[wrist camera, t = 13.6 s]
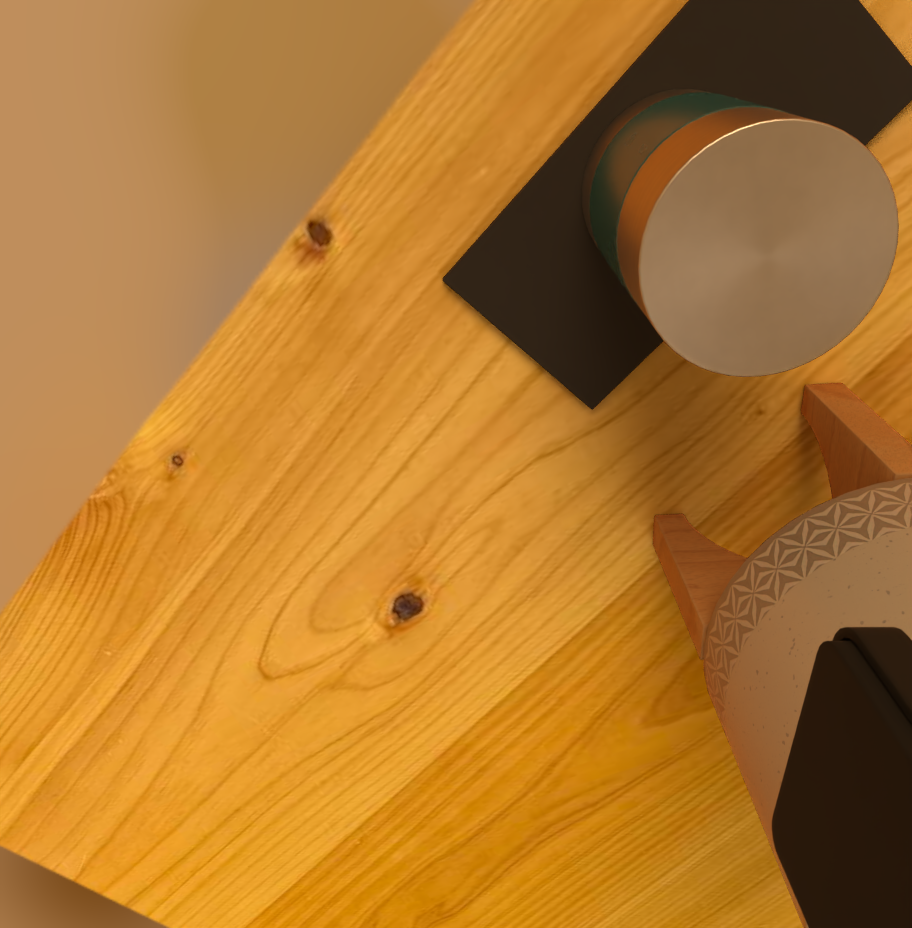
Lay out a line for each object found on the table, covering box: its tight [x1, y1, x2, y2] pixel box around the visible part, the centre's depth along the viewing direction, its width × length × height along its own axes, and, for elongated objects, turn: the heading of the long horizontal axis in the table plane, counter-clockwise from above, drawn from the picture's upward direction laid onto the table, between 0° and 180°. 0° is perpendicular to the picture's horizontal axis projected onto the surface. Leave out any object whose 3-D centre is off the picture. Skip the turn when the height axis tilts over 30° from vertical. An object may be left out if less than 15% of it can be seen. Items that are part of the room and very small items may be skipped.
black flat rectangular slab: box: [443, 0, 912, 410], centre depth 31 cm, size 16×8×1 cm, turn 138°
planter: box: [653, 383, 912, 928], centre depth 30 cm, size 13×13×18 cm
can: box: [582, 89, 899, 377], centre depth 27 cm, size 7×7×10 cm
